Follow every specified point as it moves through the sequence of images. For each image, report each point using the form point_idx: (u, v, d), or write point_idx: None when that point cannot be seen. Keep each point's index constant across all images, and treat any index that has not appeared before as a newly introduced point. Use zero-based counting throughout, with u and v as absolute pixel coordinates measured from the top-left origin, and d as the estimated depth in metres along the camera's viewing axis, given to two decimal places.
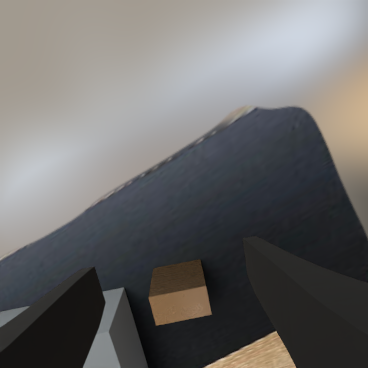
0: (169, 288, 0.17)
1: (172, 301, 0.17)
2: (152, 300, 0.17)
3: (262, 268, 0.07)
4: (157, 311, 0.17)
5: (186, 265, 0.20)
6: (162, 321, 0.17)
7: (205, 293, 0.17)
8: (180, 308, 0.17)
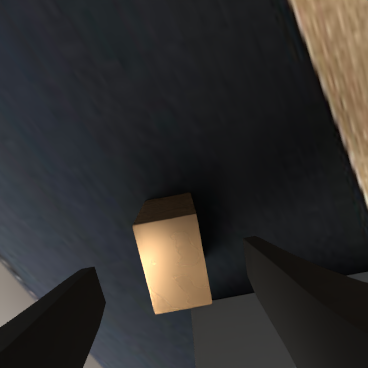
0: None
1: (164, 279, 0.10)
2: (161, 308, 0.10)
3: (262, 268, 0.07)
4: (184, 301, 0.10)
5: None
6: (206, 293, 0.10)
7: (148, 225, 0.09)
8: (180, 267, 0.10)
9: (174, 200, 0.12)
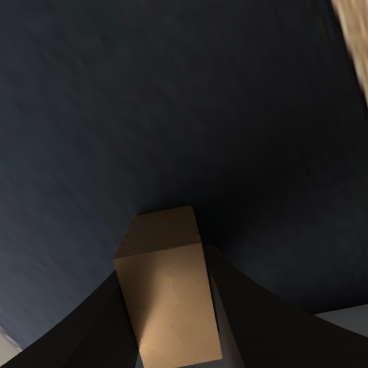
0: None
1: (157, 328, 0.07)
2: (154, 366, 0.08)
3: (208, 279, 0.07)
4: (185, 356, 0.08)
5: None
6: (213, 346, 0.07)
7: (135, 258, 0.07)
8: (179, 313, 0.07)
9: (171, 217, 0.09)
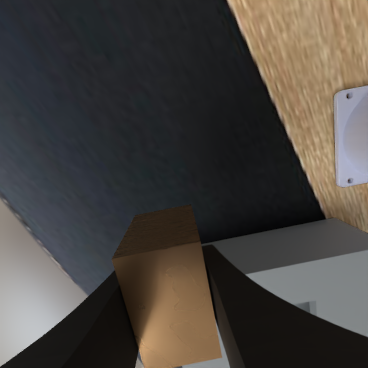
0: None
1: (157, 328, 0.07)
2: (154, 365, 0.08)
3: (208, 279, 0.07)
4: (184, 355, 0.08)
5: None
6: (213, 345, 0.07)
7: (134, 258, 0.07)
8: (178, 312, 0.07)
9: (171, 216, 0.09)
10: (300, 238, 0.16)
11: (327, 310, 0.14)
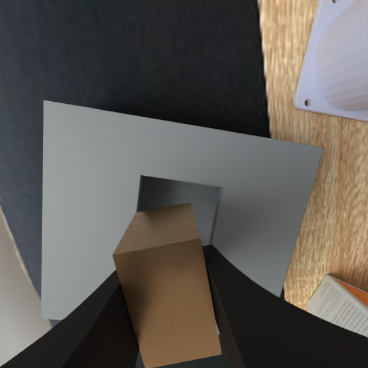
0: None
1: (157, 324, 0.07)
2: (154, 361, 0.08)
3: (208, 279, 0.07)
4: (184, 351, 0.08)
5: None
6: (213, 342, 0.08)
7: (134, 254, 0.07)
8: (178, 308, 0.07)
9: (171, 214, 0.09)
10: None
11: (232, 205, 0.12)
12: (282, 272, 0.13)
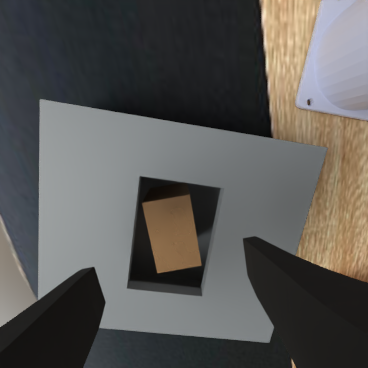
0: None
1: (165, 245, 0.13)
2: (162, 268, 0.13)
3: (262, 268, 0.07)
4: (179, 262, 0.13)
5: None
6: (196, 257, 0.13)
7: (154, 202, 0.12)
8: (177, 236, 0.13)
9: (173, 187, 0.15)
10: None
11: (233, 207, 0.12)
12: None
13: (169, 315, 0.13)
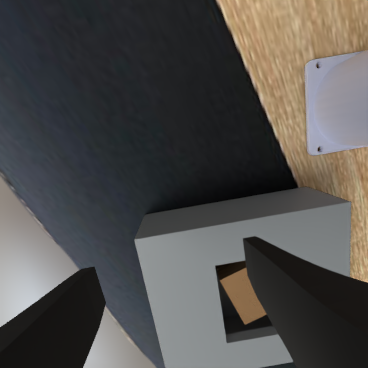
0: None
1: (245, 303, 0.16)
2: (247, 320, 0.17)
3: (262, 268, 0.07)
4: (259, 312, 0.17)
5: None
6: None
7: (228, 277, 0.16)
8: (252, 294, 0.16)
9: None
10: (270, 201, 0.17)
11: None
12: None
13: (263, 353, 0.17)
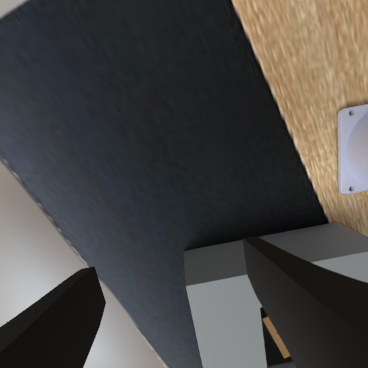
0: None
1: None
2: (287, 354, 0.18)
3: (262, 268, 0.07)
4: None
5: None
6: None
7: None
8: None
9: None
10: (306, 240, 0.18)
11: None
12: None
13: None
